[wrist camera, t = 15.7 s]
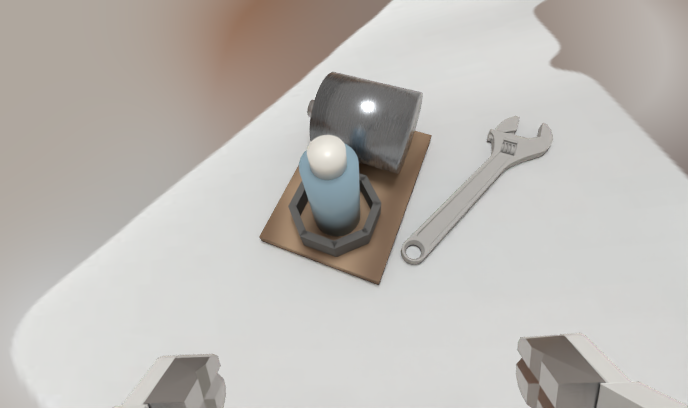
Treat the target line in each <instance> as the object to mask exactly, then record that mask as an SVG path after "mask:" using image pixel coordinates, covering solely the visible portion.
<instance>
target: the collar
mask: <svg viewBox="0 0 688 408" xmlns="http://www.w3.org/2000/svg"><path fill="white" fill-rule="evenodd" d="M359 186H360V191H361V192H362V194H363V196H364V198H365V200H366V202H367V203H368V205H369V207H370V209H371V210H370V212H369V215H368V217H367V220H366V222H365V225H364V227H363V229H361V230H359V231H356V232H354V233H352V234H349V235H347V236H344V237H342V238H340V239H337V240H335V241H334V240H331V239H328V238H325V237H322V236H320V235H317V234H314V233H311V232H308V231H306V229H305V227H304V224H303V222H302V219H301V217H300V216H301V214H302V212H303V210H304V208H305V206H306V204H307V202H308V197H307V194H306V191H305V188H304V185H303V182H302V181H301V183H300V185H299V187H298V189H297V191H296V192H295V194H294V196H293V198H292V200H291V202H290V204H289V206H288V207H289V210H290V212H291V215H292V218H293V220H294V223H295V225H296V228H297V230H298V233H299V235H300V238H301V240H302V242H303V244H304V245H305V246H307V247H310V248H313V249H316V250H318V251H321V252H324V253H326V254H329V255H332V256H334V257H338V256H340V255H343V254H345V253H347V252H350V251H352V250H354V249H357V248H359V247H361V246H364V245H366V244H368V243H369V242H370V239H371V237H372V234H373V232H374V229H375V227H376V224H377V221H378V219H379V216H380V214H381V201H380V199H379V198H378V196H377V194H376V192H375V190H374V188H373V187H372V185H371V183H370V181H369V179H368V178H367V176H366V175H363V174H360V173H359Z"/></svg>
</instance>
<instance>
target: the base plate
mask: <svg viewBox="0 0 688 408" xmlns="http://www.w3.org/2000/svg"><path fill="white" fill-rule="evenodd" d="M431 136H432V135H428V134H424V133H421V132H417V131H415V132H414V135H413V139H412V142H411V145H410V148H409V151H408V153H407V156H406V159H405V161H404V164H403V166H402V168H401V170H400V172H399V173H398V174H396V173H393V172H389V171H386V170H383V169H379V168H376V167H372V166H369V165H366V164H362V163H359V173H360V174H363V175H366V176H367V178H368V179H369V181H370V183H371V185H372V187H373V188H374V190H375V192H376V194H377V196H378V198H379V199H380V201H381V214H380V216H379V219H378V221H377V224H376V227H375V229H374V232H373V234H372V237H371V239H370V242H369V243H368V244H366V245H364V246H361V247H359V248H357V249H354V250H352V251H350V252H347V253H345V254H343V255H340V256H338V257H334V256H332V255H329V254H326V253H324V252H321V251H318V250H316V249H313V248H310V247H307V246H305V245H304V244H303V242H302V240H301V238H300V235H299V233H298V230H297V228H296V225H295V223H294V220H293V218H292V215H291V212H290V210H289V207H288V206H289V204H290V202H291V200H292V198H293V196H294V194H295V192H296V191H297V189H298V187H299V185H300V183H301V181H302V178H301V175H300V172H299V166H298V167H297V169H296V171H295V173H294V175H293V177H292V178H291V180H290V182H289V184H288V186H287V187H286V189H285V191H284V193H283V195H282V197H281V198H280V200H279V202H278V204H277V206H276V207H275V209H274V211H273V213H272V215H271V217H270V218H269V220H268V222H267V224H266V226H265V227H264V229H263V231H262V233H261V235H260V239H261V240H262V241H265V242H267V243H270V244H272V245H275V246H278V247H280V248H283V249H286V250H288V251H291V252H294V253H296V254H299V255H301V256H304V257H307V258H309V259H312V260H315V261H317V262H320V263H323V264H325V265H328V266H331V267H333V268H336V269H338V270H341V271H344V272H346V273H349V274H352V275H354V276H357V277H360V278H362V279H365V280H368V281H370V282H373V283H375V284H378V285H379V283H380V280H381V277H382V274H383V271H384V269H385V266H386V263H387V260H388V257H389V255H390V252H391V249H392V246H393V243H394V241H395V238H396V235H397V232H398V229H399V227H400V224H401V221H402V218H403V215H404V213H405V210H406V207H407V204H408V201H409V199H410V196H411V193H412V190H413V187H414V185H415V182H416V179H417V176H418V173H419V171H420V168H421V165H422V162H423V159H424V157H425V154H426V151H427V148H428V145H429V142H430V139H431ZM370 210H371V209H370V207H369V205H368V203H367V202H366V200H365V198H364V196H363V194H362V192H361V191H360V213H361V216H360V221H359V223H358V225H357V227H356V228H355V229H354V230H353V231H352V232H350V233H349V234H352V233H354V232H356V231H359V230H361V229H363V227H364V225H365V222H366V220H367V217H368V215H369V212H370ZM300 217H301V219H302V222H303V224H304V227H305V229H306V231H308V232H311V233H314V234H317V235H320V236H322V237H325V238H328V239H331V240H334V241H335V240H337V239H340V238H342V237H344V236H347V235H349V234H346V235H344V236H330V235H327V234H325V233H323V232H322V231H321V230H320V229H319V228H318V226H317V225H316V222H315V219H314V216H313V213H312V210H311V207H310V203H309V200H308V202H307V204H306V206H305V208H304V210H303V212H302V214H301V216H300Z"/></svg>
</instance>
